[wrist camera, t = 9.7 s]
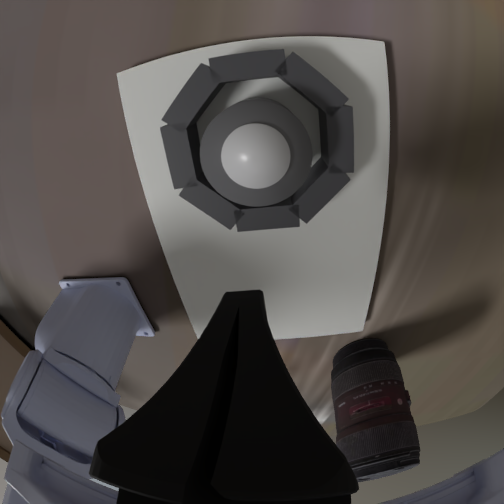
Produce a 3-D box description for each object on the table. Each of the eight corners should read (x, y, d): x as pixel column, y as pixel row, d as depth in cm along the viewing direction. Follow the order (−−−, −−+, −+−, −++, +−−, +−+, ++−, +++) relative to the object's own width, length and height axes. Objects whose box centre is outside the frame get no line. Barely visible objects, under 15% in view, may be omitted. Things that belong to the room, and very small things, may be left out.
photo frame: (-6, 306, 30) (-62, 411, 9) (76, 381, 40) (41, 485, 19) (-13, 323, 35) (-57, 406, 14) (53, 383, 45) (23, 466, 24)
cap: (221, 181, 16) (208, 212, 13) (209, 102, 13) (190, 109, 10) (303, 176, 16) (313, 205, 12) (298, 94, 13) (310, 98, 10)
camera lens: (355, 326, 25) (384, 471, 13) (405, 340, 26) (438, 457, 14) (312, 366, 29) (320, 488, 17) (362, 375, 31) (379, 479, 18)
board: (200, 333, 26) (195, 359, 24) (123, 73, 13) (97, 74, 10) (360, 323, 25) (367, 349, 22) (378, 43, 11) (400, 37, 9)
